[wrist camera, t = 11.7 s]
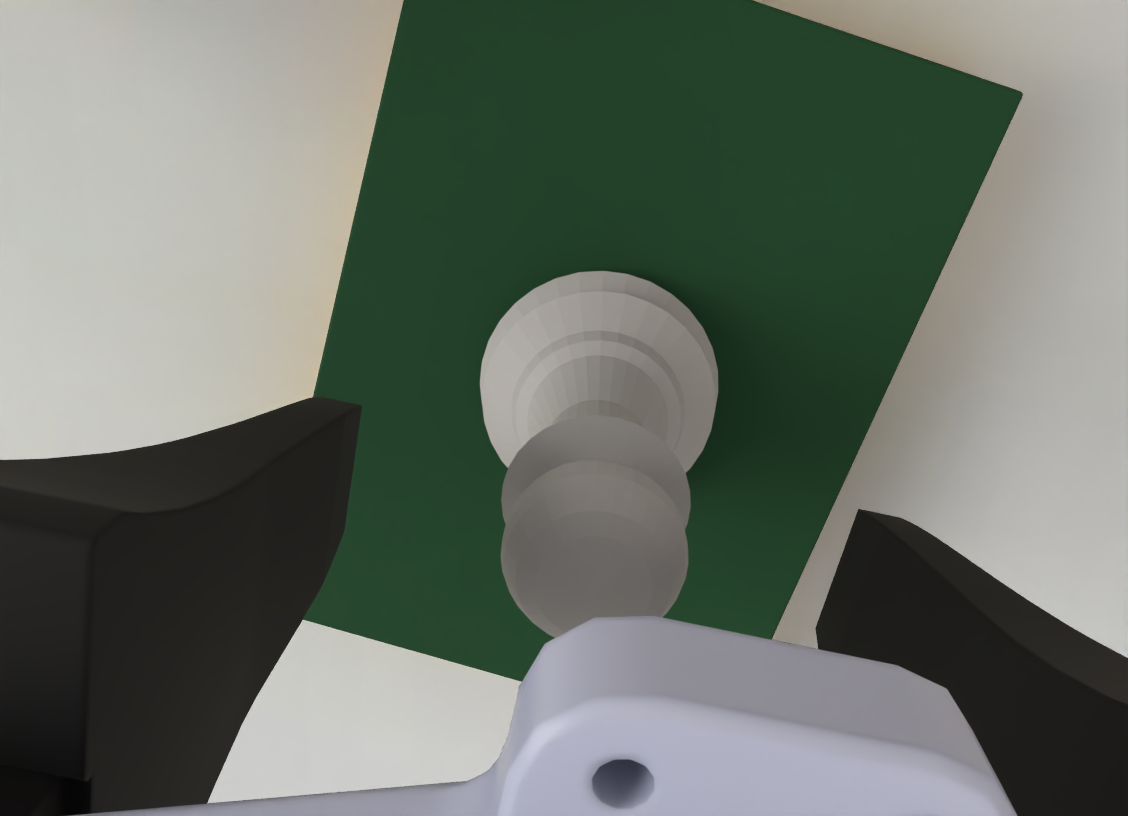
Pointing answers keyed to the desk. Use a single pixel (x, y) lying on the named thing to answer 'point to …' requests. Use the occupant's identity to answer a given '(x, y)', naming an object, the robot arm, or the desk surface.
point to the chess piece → (597, 444)
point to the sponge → (645, 250)
